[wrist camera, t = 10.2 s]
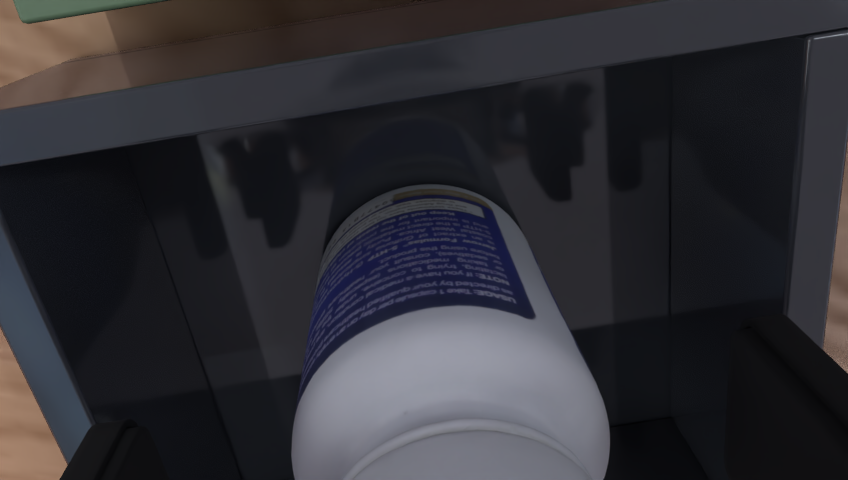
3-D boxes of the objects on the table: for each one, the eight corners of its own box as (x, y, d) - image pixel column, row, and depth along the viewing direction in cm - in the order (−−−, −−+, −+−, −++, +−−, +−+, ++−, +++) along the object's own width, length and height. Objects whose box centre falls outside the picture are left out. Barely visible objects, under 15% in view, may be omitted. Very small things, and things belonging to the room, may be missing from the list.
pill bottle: (275, 294, 16) (173, 644, 8) (414, 133, 15) (455, 366, 7) (438, 404, 18) (486, 784, 10) (578, 267, 17) (767, 583, 8)
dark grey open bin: (68, 59, 14) (-101, 126, 9) (696, -45, 14) (872, -34, 9) (227, 493, 20) (174, 688, 15) (687, 420, 20) (796, 590, 14)
